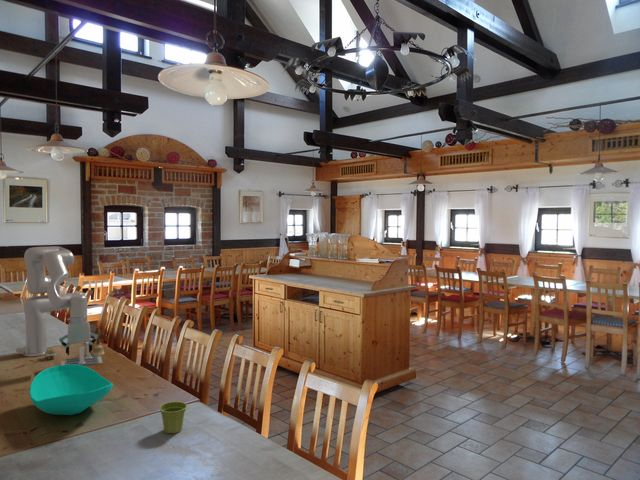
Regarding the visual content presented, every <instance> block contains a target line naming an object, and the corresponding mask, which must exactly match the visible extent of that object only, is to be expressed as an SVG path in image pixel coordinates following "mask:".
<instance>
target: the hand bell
mask: <svg viewBox="0 0 640 480" xmlns="http://www.w3.org/2000/svg"><path fill="white" fill-rule="evenodd" d="M101 333H102V332H101V329H100V326H96V329H95V333H94V334H97V335H98V338H97V339H96V345H95V346H94V347H93V349H92V352H91V356H93V355H95V356H101V355H104V354H105V351H104V346H103V345H101V339H100V338H101V335H102V334H101Z"/></svg>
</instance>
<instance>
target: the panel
mask: <svg viewBox="0 0 640 480" xmlns="http://www.w3.org/2000/svg"><path fill="white" fill-rule="evenodd" d="M86 357H87V355H84V362H85V363H81V364H78V362H80V356H77V357H71V358H69V357H68V358H66V360H61V361H59V363H60V364H59V365H66V364H77V365H82V366H92V365H100V364H101V365H102V364H104V361H103V357H102V356H101V355H97V356H96V355H91V357H92V358H86Z"/></svg>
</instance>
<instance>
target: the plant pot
mask: <svg viewBox="0 0 640 480" xmlns="http://www.w3.org/2000/svg"><path fill="white" fill-rule="evenodd" d="M187 407H188V405H187V403H186V402H184V401H170V402H165V403H162V404H161V405H160V406H159V411H160V414H161V419H162V425H163V432H164V433H166V434H169V435H170V434H177V433H179V432H181V431H182V429H183V423H184V417H185V412H186V409H187Z"/></svg>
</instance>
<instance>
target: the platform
mask: <svg viewBox="0 0 640 480" xmlns="http://www.w3.org/2000/svg"><path fill="white" fill-rule="evenodd" d="M48 349H49V350H48ZM44 355H46V356H47V358H48V360H54V357H55V356H56V355H57V353H56V352H55V351H54V349H52V348H47V351H45V354H44Z"/></svg>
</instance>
